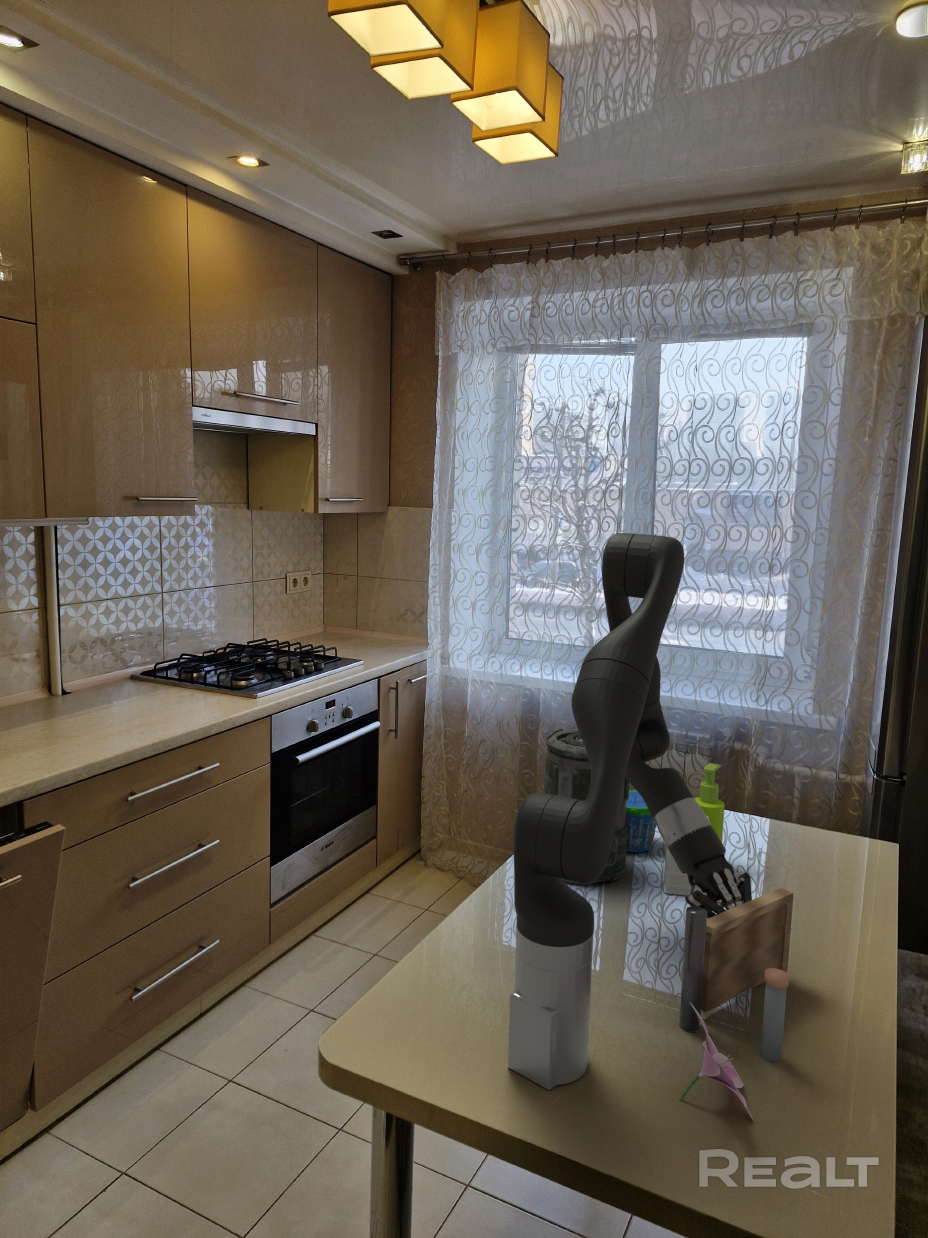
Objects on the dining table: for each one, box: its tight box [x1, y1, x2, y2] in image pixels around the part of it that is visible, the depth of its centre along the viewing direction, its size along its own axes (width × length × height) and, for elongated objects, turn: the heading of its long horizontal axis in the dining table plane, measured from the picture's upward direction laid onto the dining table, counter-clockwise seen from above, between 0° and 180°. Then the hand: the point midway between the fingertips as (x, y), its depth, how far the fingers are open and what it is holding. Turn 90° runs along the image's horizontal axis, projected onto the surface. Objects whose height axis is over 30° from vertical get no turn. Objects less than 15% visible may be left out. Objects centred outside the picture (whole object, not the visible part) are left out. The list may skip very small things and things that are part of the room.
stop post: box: [760, 968, 790, 1063], centre depth 100 cm, size 3×3×11 cm
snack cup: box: [626, 789, 657, 854], centre depth 164 cm, size 16×10×10 cm
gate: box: [701, 887, 794, 1013], centre depth 112 cm, size 18×2×12 cm, turn 126°
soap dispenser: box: [693, 762, 725, 843], centre depth 154 cm, size 6×7×20 cm
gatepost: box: [678, 905, 708, 1033], centre depth 105 cm, size 3×3×16 cm
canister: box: [544, 728, 631, 886], centre depth 152 cm, size 16×16×28 cm
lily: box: [679, 1001, 754, 1121], centre depth 92 cm, size 12×12×10 cm
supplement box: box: [663, 816, 709, 897], centre depth 146 cm, size 7×7×13 cm
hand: (751, 946), depth 115 cm, fingers closed
